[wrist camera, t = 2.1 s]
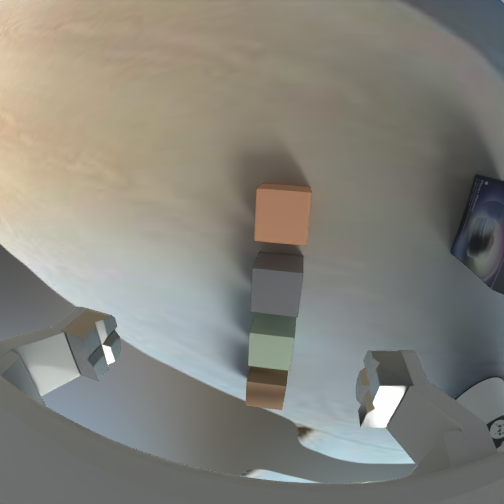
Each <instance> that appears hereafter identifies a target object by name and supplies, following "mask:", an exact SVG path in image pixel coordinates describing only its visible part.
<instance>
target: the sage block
mask: <svg viewBox="0 0 504 504" xmlns="http://www.w3.org/2000/svg"><path fill="white" fill-rule="evenodd" d="M295 328H296V317H293V316H284V315H274V314H266V313H257V312H256V314H255V317H254V320H253V324H252V327H251V330H250V335H249V358H248V366H255V367H262V368H270V369H279V370H288V371H290V365H291V359H292V352H293V346H294V339H295Z"/></svg>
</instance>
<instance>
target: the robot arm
mask: <svg viewBox="0 0 504 504" xmlns="http://www.w3.org/2000/svg"><path fill="white" fill-rule="evenodd" d="M116 327H117V323H116V320H115V318H114V317H113V316H112V315H109V314H106V313H102V312H99V311H95V310H92V309H88V308H84V307H76V308H75V309H74V310H72V311H71V312H70V313H69V314H68V315H66V316H65V317H64V318H63V319H61V320H60V321H59V322H58V323H57V324H55V325H54V326H53V327H52V328H51V327H46V328H43V329H40V330H36V331H33V332H29V333H26V334H23V335H19V336H16V337H12V338H9V339H5V340H2V341H0V504H504V381H503V380H502V379H501V378H497V377H495V378H490V379H486V380H484V381H482V382H480V383H478V384H476V385H474V386H473V387H471V388H470V389H468V390H467V391H466V392H464V393H463V394H462V395H461V396H460V397H459V398H458V399H456V400H454V399H453V398H452V397H450V396H449V395H447V394H446V393H445V392H443V391H442V390H441V389H439V388H438V387H437V386H435V385H430V384H429V382H428V379H427V377H426V375H425V372H424V370H423V368H422V366H421V363H420V361H419V359H418V357H417V355H416V352H415V351H413V350H398V351H371V350H368V351H367V353H366V355H365V358H364V365H365V368H363V369H362V370H361V371H360V372H359V375H358V378H357V384H356V398H357V401H358V402H359V403H360V404H361V405H360V408H359V410H358V413H359V420H360V427H386V429H387V430H388V431H389V432H390V433H391V435H392V436H393V437H394V438H395V439H396V441H397V442H398V443H399V444H400V445H401V446H402V448H403V449H404V450H405V451H406V452H407V454H408V455H409V456H410V457H411V458H412V460H413V461H414V462H415V463H416V464H417V466H416V468H415V469H414V470H413V471H412V472H411V473H410V474H409V475H408V476H407V477H404V478H397V479H389V480H382V481H370V482H355V483H298V482H283V481H272V480H263V479H255V478H248V477H241V476H235V475H229V474H224V473H219V472H214V471H209V470H205V469H201V468H197V467H193V466H188V465H184V464H181V463H178V462H174V461H171V460H167V459H164V458H161V457H158V456H154V455H151V454H148V453H145V452H143V451H140V450H137V449H134V448H132V447H129V446H126V445H124V444H121V443H119V442H116V441H114V440H112V439H109V438H107V437H105V436H102V435H100V434H98V433H96V432H94V431H92V430H89V429H87V428H85V427H83V426H81V425H79V424H77V423H75V422H73V421H71V420H70V419H67V418H66V417H64V416H62V415H60V414H59V413H57V412H55V411H53V410H52V409H50V408H48V407H46V405H45V403H44V401H43V399H42V398H41V396H42V395H44V394H46V393H48V392H50V391H52V390H54V389H56V388H58V387H59V386H61V385H63V384H65V383H67V382H69V381H71V380H73V379H75V378H77V377H78V376H80V375H83V376H86V377H89V378H91V379H94V380H97V381H99V380H100V379H101V378H102V377H103V375H104V374H105V373H106V372H107V371H108V364H110V363H112V362H115V360H116V359H117V358H118V356H119V354H120V351H121V340H120V336H119V335H118V334H117V332H116V331H115V329H116Z"/></svg>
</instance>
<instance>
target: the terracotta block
mask: <svg viewBox="0 0 504 504" xmlns="http://www.w3.org/2000/svg"><path fill="white" fill-rule="evenodd" d="M311 198H312V191H311V187H307V186H295V185H283V184H269V183H263V184H262V185H261V186H259V187H258V188H257V191H256V214H255V237H254V241H260V242H271V243H282V244H293V245H303V246H307V241H308V231H309V221H310V210H311Z"/></svg>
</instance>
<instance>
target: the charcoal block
mask: <svg viewBox="0 0 504 504" xmlns="http://www.w3.org/2000/svg"><path fill="white" fill-rule="evenodd" d="M302 279H303V256H297V255H287V254H276V253H266V252H259V254H258V257H257V259H256V261H255V263H254V266H253V268H252V287H251V309H250V312H257V313H266V314H274V315H284V316H293V317H298V310H299V303H300V295H301V287H302Z"/></svg>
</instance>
